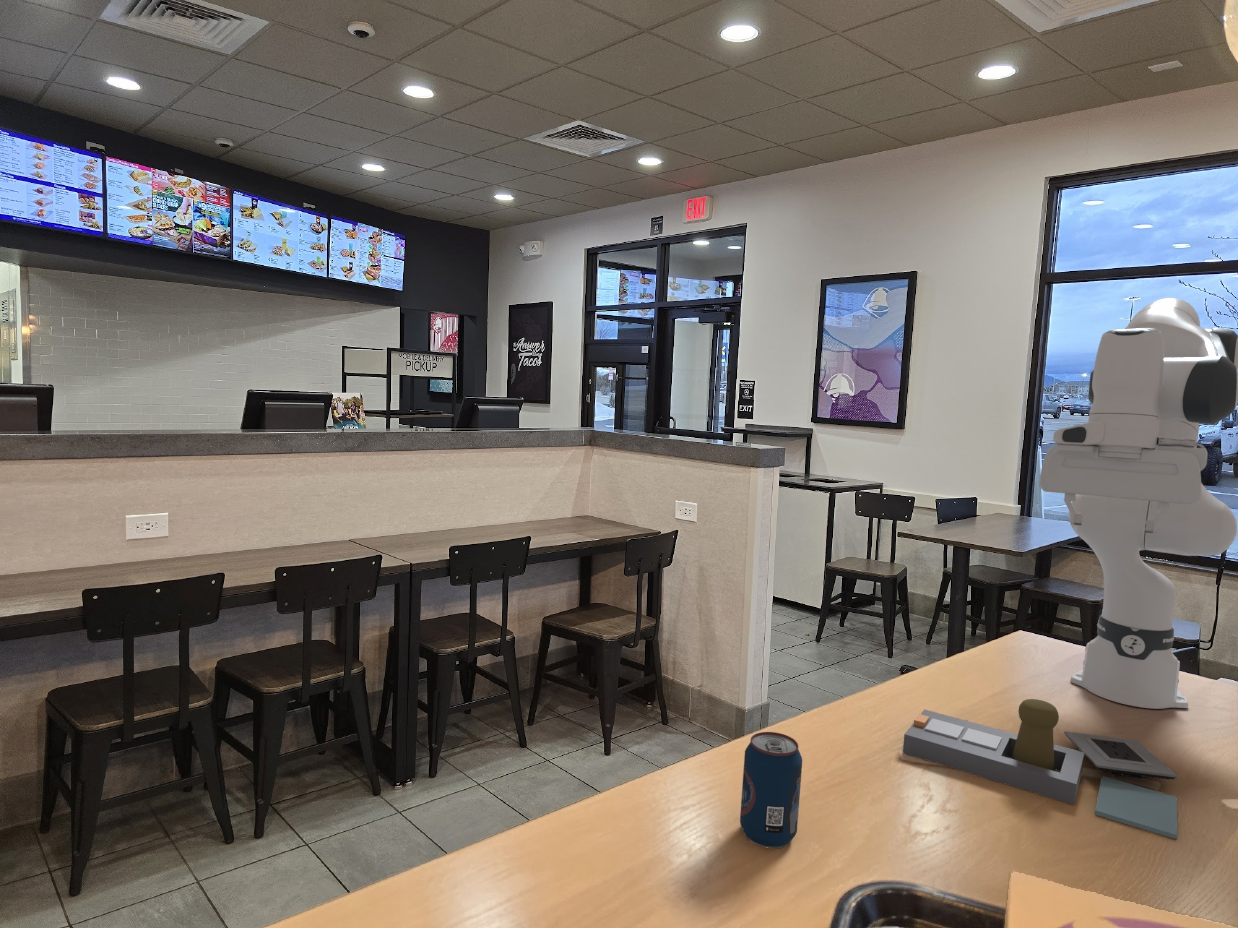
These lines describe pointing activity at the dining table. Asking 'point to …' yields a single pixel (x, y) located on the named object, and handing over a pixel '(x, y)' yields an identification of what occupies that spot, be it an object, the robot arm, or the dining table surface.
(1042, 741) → the cork
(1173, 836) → the rubber mat
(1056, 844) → the dining table surface
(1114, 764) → the grey picture frame
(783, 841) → the soda can
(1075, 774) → the grey slotted tray
